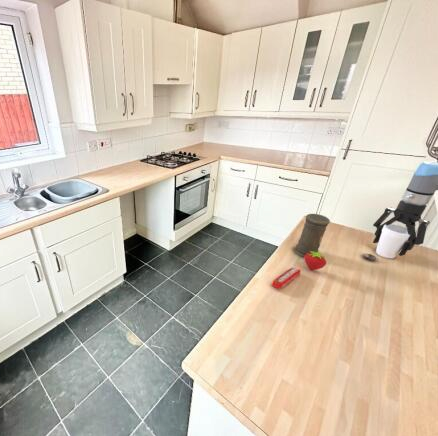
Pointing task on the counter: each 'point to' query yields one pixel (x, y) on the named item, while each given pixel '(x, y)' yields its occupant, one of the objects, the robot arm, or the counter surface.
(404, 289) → the counter surface
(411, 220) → the robot arm
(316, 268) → the strawberry
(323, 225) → the container
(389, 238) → the foam cup
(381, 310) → the counter surface
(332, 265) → the counter surface
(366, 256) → the puck
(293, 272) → the candy bar
